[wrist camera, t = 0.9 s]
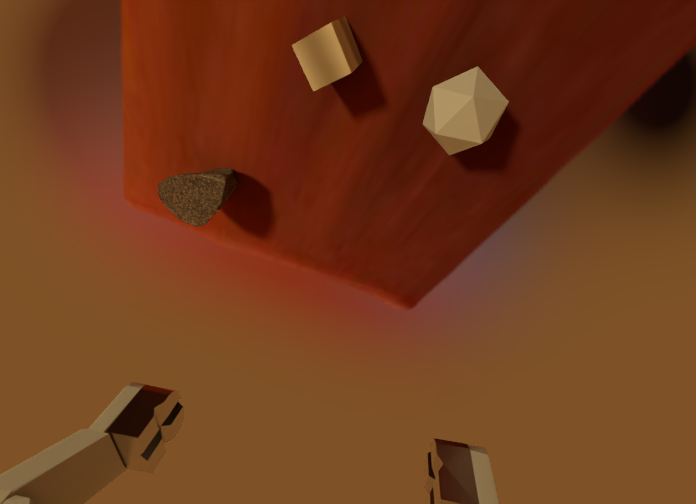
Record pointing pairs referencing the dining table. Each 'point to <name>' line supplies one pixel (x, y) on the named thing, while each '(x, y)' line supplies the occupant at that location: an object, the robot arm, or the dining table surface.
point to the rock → (197, 194)
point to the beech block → (328, 54)
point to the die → (464, 111)
